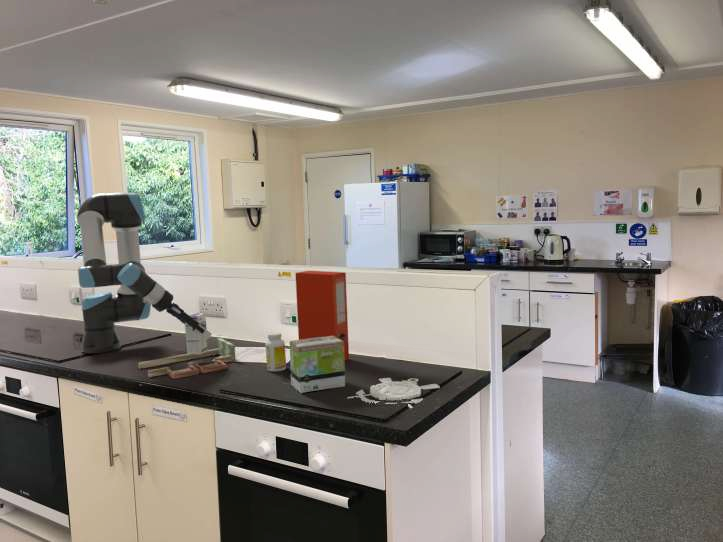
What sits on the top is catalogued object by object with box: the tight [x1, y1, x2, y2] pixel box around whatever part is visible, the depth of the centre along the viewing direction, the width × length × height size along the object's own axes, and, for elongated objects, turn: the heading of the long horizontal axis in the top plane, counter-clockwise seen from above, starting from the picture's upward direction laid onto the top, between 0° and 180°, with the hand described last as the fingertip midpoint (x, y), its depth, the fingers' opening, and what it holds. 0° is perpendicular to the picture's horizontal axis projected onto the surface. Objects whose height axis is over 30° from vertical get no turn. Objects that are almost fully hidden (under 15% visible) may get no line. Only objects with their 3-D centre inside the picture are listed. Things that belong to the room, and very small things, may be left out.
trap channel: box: [137, 337, 236, 380], centre depth 218 cm, size 23×32×6 cm
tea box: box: [289, 336, 346, 394], centre depth 189 cm, size 15×10×15 cm, turn 114°
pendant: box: [347, 377, 441, 409], centre depth 181 cm, size 21×28×1 cm
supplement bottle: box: [265, 331, 287, 373], centre depth 209 cm, size 7×7×13 cm
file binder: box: [295, 270, 350, 361], centre depth 220 cm, size 8×17×32 cm, turn 53°
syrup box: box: [184, 312, 209, 354], centre depth 222 cm, size 6×6×14 cm
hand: (205, 334), depth 224 cm, fingers closed on syrup box, 8 cm apart
